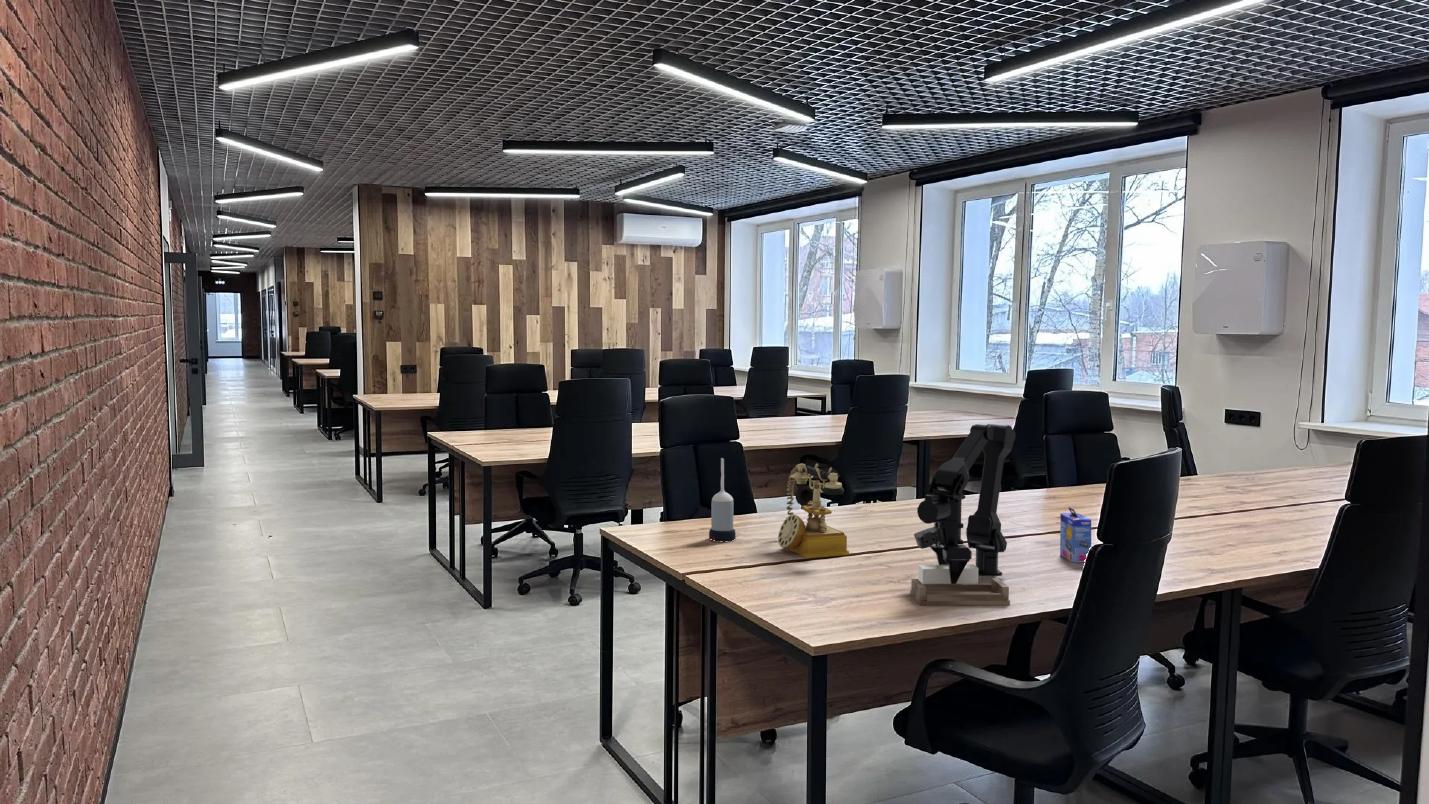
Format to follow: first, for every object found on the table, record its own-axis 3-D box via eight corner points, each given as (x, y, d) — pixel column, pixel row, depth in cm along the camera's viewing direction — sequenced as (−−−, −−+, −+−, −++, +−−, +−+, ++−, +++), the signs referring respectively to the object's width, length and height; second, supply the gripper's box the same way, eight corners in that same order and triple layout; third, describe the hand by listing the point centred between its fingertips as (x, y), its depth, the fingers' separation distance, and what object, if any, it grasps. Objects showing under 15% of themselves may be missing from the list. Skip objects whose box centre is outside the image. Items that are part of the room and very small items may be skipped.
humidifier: (706, 541, 294) (706, 459, 292) (712, 536, 302) (712, 456, 300) (732, 542, 292) (732, 460, 290) (738, 537, 300) (738, 457, 298)
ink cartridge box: (1058, 554, 277) (1059, 504, 276) (1077, 554, 278) (1078, 504, 277) (1072, 563, 268) (1073, 511, 267) (1091, 562, 268) (1093, 511, 267)
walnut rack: (910, 594, 234) (910, 577, 234) (995, 593, 235) (996, 577, 235) (920, 605, 224) (920, 588, 224) (1010, 604, 225) (1010, 588, 225)
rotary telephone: (752, 538, 298) (752, 457, 296) (804, 534, 304) (804, 455, 303) (801, 564, 265) (802, 473, 263) (858, 559, 271) (859, 470, 269)
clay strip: (918, 584, 244) (918, 565, 244) (972, 583, 245) (973, 564, 245) (922, 588, 240) (923, 568, 240) (978, 588, 241) (978, 568, 241)
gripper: (908, 511, 251) (907, 571, 252) (927, 525, 232) (925, 589, 233) (951, 511, 251) (949, 570, 252) (973, 525, 233) (971, 589, 234)
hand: (948, 579), depth 243 cm, fingers open, 9 cm apart
